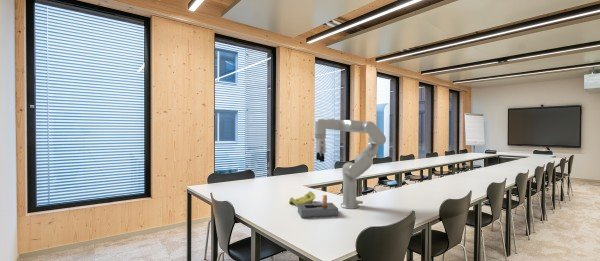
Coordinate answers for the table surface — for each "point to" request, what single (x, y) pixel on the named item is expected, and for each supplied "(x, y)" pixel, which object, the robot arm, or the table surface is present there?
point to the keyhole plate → (317, 210)
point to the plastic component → (303, 199)
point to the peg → (324, 200)
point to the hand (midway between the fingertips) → (320, 160)
